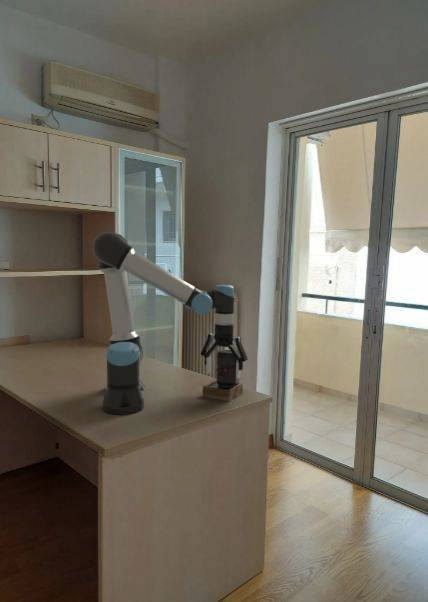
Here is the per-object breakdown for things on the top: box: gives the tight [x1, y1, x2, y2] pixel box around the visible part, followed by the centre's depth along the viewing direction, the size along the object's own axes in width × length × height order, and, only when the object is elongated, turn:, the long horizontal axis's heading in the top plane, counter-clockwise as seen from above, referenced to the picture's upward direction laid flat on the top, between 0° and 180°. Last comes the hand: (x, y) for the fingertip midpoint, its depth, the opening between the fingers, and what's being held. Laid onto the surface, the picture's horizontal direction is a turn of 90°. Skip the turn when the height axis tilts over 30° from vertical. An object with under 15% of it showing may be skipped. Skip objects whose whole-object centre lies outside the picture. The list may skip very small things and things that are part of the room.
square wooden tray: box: [202, 378, 244, 402], centre depth 181 cm, size 12×12×4 cm
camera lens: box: [215, 349, 238, 390], centre depth 179 cm, size 8×8×15 cm
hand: (223, 375), depth 180 cm, fingers open, 13 cm apart
